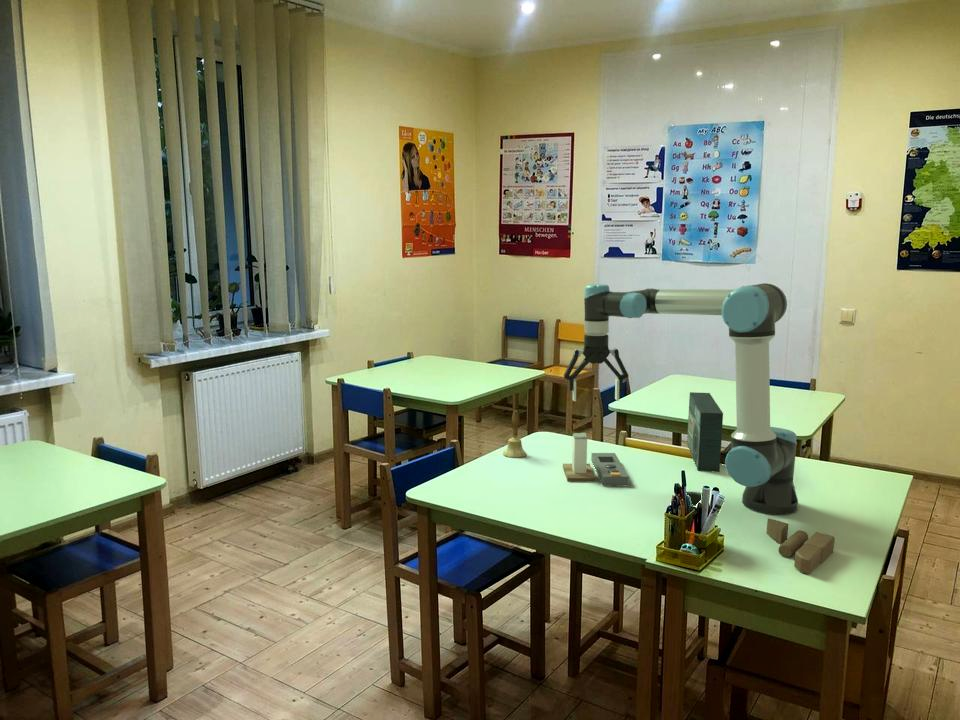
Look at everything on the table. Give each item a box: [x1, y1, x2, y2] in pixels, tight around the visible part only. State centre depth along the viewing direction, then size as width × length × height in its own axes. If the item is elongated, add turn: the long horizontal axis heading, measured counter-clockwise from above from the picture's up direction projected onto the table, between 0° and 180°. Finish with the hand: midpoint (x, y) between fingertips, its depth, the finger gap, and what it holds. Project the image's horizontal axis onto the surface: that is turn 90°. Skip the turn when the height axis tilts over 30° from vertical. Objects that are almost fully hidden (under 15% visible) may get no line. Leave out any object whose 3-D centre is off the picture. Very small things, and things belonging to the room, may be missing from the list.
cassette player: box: [686, 391, 724, 473], centre depth 259 cm, size 29×7×20 cm, turn 172°
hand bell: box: [502, 410, 527, 459], centre depth 263 cm, size 8×8×16 cm
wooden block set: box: [765, 517, 836, 575], centre depth 186 cm, size 17×6×18 cm
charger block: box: [571, 432, 588, 473], centre depth 242 cm, size 5×4×12 cm
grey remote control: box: [590, 452, 630, 486], centre depth 244 cm, size 24×8×4 cm, turn 0°
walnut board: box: [562, 463, 597, 483], centre depth 244 cm, size 14×9×1 cm, turn 0°
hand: (595, 400), depth 237 cm, fingers open, 13 cm apart
